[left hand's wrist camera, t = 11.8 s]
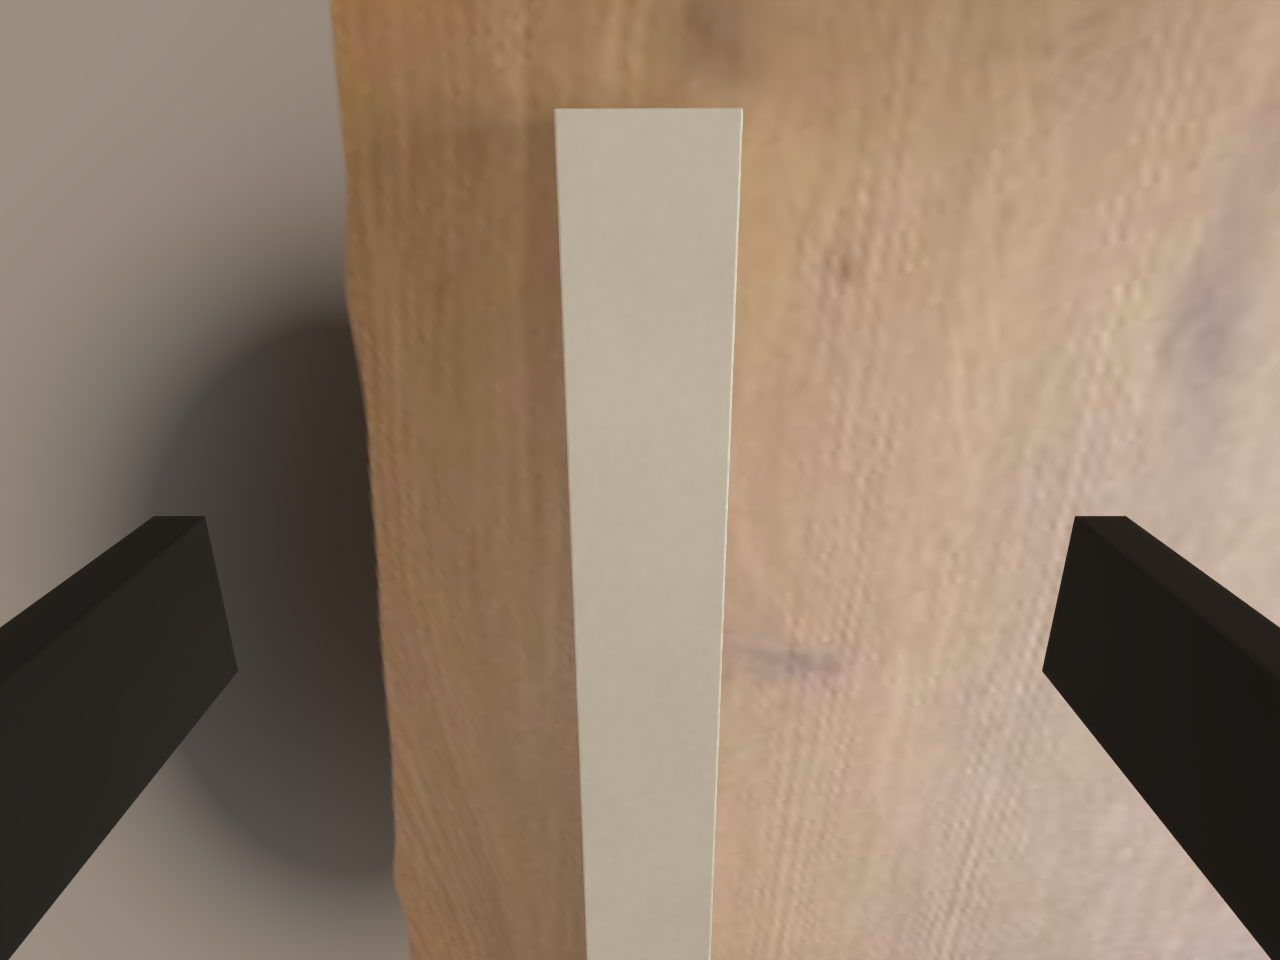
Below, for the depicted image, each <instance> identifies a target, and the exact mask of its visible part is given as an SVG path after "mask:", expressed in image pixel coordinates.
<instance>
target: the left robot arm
mask: <svg viewBox="0 0 1280 960" xmlns="http://www.w3.org/2000/svg"><path fill="white" fill-rule="evenodd" d="M237 671H238V669H237V665H236V660H235V655H234V651H233V646H232V641H231V637H230V632H229V627H228V622H227V618H226V613H225V608H224V604H223V599H222V594H221V590H220V585H219V580H218V575H217V571H216V566H215V561H214V557H213V552H212V547H211V543H210V538H209V533H208V529H207V524H206V519H205V516H154V517H152V518H151V519H150V520H148V521H147V522H145V523H144V524H143V525H141V526H140V527H139V528H137V529H136V530H134V531H133V532H132V533H130V534H129V535H128V536H126V537H125V538H123V539H122V540H121V541H119V542H118V543H117V544H115V545H114V546H112V547H111V548H110V549H108V550H107V551H105V552H104V553H103V554H101V555H100V556H99V557H97V558H96V559H94V560H93V561H92V562H90V563H89V564H87V565H86V566H85V567H83V568H82V569H81V570H79V571H78V572H77V573H75V574H74V575H72V576H71V577H69V578H68V579H67V580H65V581H64V582H63V583H61V584H60V585H58V586H57V587H56V588H54V589H53V590H52V591H50V592H49V593H47V594H46V595H45V596H43V597H42V598H40V599H39V600H38V601H36V602H35V603H34V604H32V605H31V606H29V607H28V608H27V609H25V610H24V611H23V612H21V613H20V614H18V615H17V616H16V617H14V618H13V619H11V620H10V621H9V622H7V623H6V624H5V625H3V626H2V627H0V960H9V958H10V957H11V956H12V955H13V953H14V952H15V951H16V950H17V948H18V947H19V946H20V945H21V943H22V942H23V941H24V940H25V938H26V937H27V936H28V934H29V933H30V932H31V931H32V929H33V928H34V927H35V926H36V924H37V923H38V922H39V921H40V919H41V918H42V917H43V916H44V914H45V913H46V912H47V911H48V909H49V908H50V907H51V906H52V904H53V903H54V902H55V900H56V899H57V898H58V897H59V895H60V894H61V893H62V892H63V890H64V889H65V888H66V887H67V885H68V884H69V883H70V882H71V880H72V879H73V878H74V877H75V875H76V874H77V873H78V872H79V870H80V869H81V868H82V866H83V865H84V864H85V863H86V861H87V860H88V859H89V858H90V856H91V855H92V854H93V853H94V851H95V850H96V849H97V848H98V846H99V845H100V844H101V843H102V841H103V840H104V839H105V838H106V836H107V835H108V834H109V833H110V831H111V830H112V829H113V827H114V826H115V825H116V824H117V822H118V821H119V820H120V819H121V817H122V816H123V815H124V814H125V812H126V811H127V810H128V809H129V807H130V806H131V805H132V804H133V802H134V801H135V800H136V799H137V797H138V796H139V795H140V793H141V792H142V791H143V790H144V788H145V787H146V786H147V785H148V783H149V782H150V781H151V780H152V778H153V777H154V776H155V775H156V773H157V772H158V771H159V770H160V768H161V767H162V766H163V765H164V763H165V762H166V761H167V759H168V758H169V757H170V756H171V754H172V753H173V752H174V751H175V749H176V748H177V747H178V746H179V744H180V743H181V742H182V741H183V739H184V738H185V737H186V736H187V734H188V733H189V732H190V731H191V729H192V728H193V727H194V725H195V724H196V723H197V722H198V720H199V719H200V718H201V717H202V715H203V714H204V713H205V712H206V710H207V709H208V708H209V707H210V705H211V704H212V703H213V702H214V700H215V699H216V698H217V696H218V695H219V694H220V693H221V691H222V690H223V689H224V688H225V686H226V685H227V684H228V683H229V681H230V680H231V679H232V678H233V676H234V675H235V674H236V673H237ZM1042 671H1043V673H1044V674H1045V675H1046V676H1047V678H1048V679H1049V680H1050V681H1051V683H1052V684H1053V685H1054V686H1055V688H1056V689H1057V690H1058V692H1059V693H1060V694H1061V695H1062V697H1063V698H1064V699H1065V700H1066V702H1067V703H1068V704H1069V705H1070V707H1071V708H1072V709H1073V710H1074V712H1075V713H1076V714H1077V715H1078V717H1079V718H1080V719H1081V720H1082V722H1083V723H1084V724H1085V726H1086V727H1087V728H1088V729H1089V731H1090V732H1091V733H1092V734H1093V736H1094V737H1095V738H1096V739H1097V741H1098V742H1099V743H1100V744H1101V746H1102V747H1103V748H1104V749H1105V751H1106V752H1107V753H1108V754H1109V756H1110V757H1111V758H1112V760H1113V761H1114V762H1115V763H1116V765H1117V766H1118V767H1119V768H1120V770H1121V771H1122V772H1123V773H1124V775H1125V776H1126V777H1127V778H1128V780H1129V781H1130V782H1131V783H1132V785H1133V786H1134V787H1135V788H1136V790H1137V791H1138V792H1139V793H1140V795H1141V796H1142V797H1143V799H1144V800H1145V801H1146V802H1147V804H1148V805H1149V806H1150V807H1151V809H1152V810H1153V811H1154V812H1155V814H1156V815H1157V816H1158V817H1159V819H1160V820H1161V821H1162V822H1163V824H1164V825H1165V826H1166V827H1167V829H1168V830H1169V831H1170V833H1171V834H1172V835H1173V836H1174V838H1175V839H1176V840H1177V841H1178V843H1179V844H1180V845H1181V846H1182V848H1183V849H1184V850H1185V851H1186V853H1187V854H1188V855H1189V856H1190V858H1191V859H1192V860H1193V861H1194V863H1195V864H1196V865H1197V867H1198V868H1199V869H1200V870H1201V872H1202V873H1203V874H1204V875H1205V877H1206V878H1207V879H1208V880H1209V882H1210V883H1211V884H1212V885H1213V887H1214V888H1215V889H1216V890H1217V892H1218V893H1219V894H1220V895H1221V897H1222V898H1223V899H1224V901H1225V902H1226V903H1227V904H1228V906H1229V907H1230V908H1231V909H1232V911H1233V912H1234V913H1235V914H1236V916H1237V917H1238V918H1239V919H1240V921H1241V922H1242V923H1243V924H1244V926H1245V927H1246V928H1247V929H1248V931H1249V932H1250V933H1251V935H1252V936H1253V937H1254V938H1255V940H1256V941H1257V942H1258V943H1259V945H1260V946H1261V947H1262V948H1263V950H1264V951H1265V952H1266V953H1267V955H1268V956H1269V957H1270V958H1271V960H1280V627H1278V626H1277V625H1275V624H1274V623H1273V622H1271V621H1270V620H1269V619H1267V618H1266V617H1264V616H1263V615H1262V614H1260V613H1259V612H1257V611H1256V610H1255V609H1253V608H1252V607H1251V606H1249V605H1248V604H1246V603H1245V602H1244V601H1242V600H1241V599H1240V598H1238V597H1237V596H1235V595H1234V594H1233V593H1231V592H1230V591H1228V590H1227V589H1226V588H1224V587H1223V586H1222V585H1220V584H1219V583H1217V582H1216V581H1215V580H1213V579H1212V578H1211V577H1209V576H1208V575H1206V574H1205V573H1204V572H1202V571H1201V570H1199V569H1198V568H1197V567H1195V566H1194V565H1193V564H1191V563H1190V562H1188V561H1187V560H1186V559H1184V558H1183V557H1181V556H1180V555H1179V554H1177V553H1176V552H1175V551H1173V550H1172V549H1170V548H1169V547H1168V546H1166V545H1165V544H1164V543H1162V542H1161V541H1159V540H1158V539H1157V538H1155V537H1154V536H1152V535H1151V534H1150V533H1148V532H1147V531H1146V530H1144V529H1143V528H1141V527H1140V526H1139V525H1137V524H1136V523H1135V522H1133V521H1132V520H1130V519H1129V518H1128V517H1126V516H1075V519H1074V524H1073V528H1072V533H1071V538H1070V543H1069V547H1068V552H1067V557H1066V561H1065V566H1064V571H1063V575H1062V580H1061V585H1060V590H1059V594H1058V599H1057V604H1056V608H1055V613H1054V618H1053V622H1052V627H1051V632H1050V637H1049V641H1048V646H1047V651H1046V655H1045V660H1044V665H1043V669H1042Z"/></svg>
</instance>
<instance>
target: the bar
mask: <svg viewBox="0 0 1280 960" xmlns="http://www.w3.org/2000/svg"><path fill="white" fill-rule="evenodd" d="M742 126H743V110H742V108H557V109H555V110H554V129H555V155H556V181H557V207H558V233H559V259H560V285H561V311H562V337H563V363H564V389H565V415H566V441H567V467H568V493H569V519H570V545H571V571H572V597H573V623H574V649H575V675H576V700H577V726H578V752H579V778H580V804H581V830H582V856H583V882H584V908H585V934H586V960H710V951H711V925H712V900H713V874H714V848H715V822H716V796H717V771H718V745H719V719H720V693H721V667H722V642H723V616H724V590H725V564H726V538H727V513H728V487H729V461H730V435H731V409H732V384H733V358H734V332H735V306H736V280H737V255H738V229H739V203H740V177H741V151H742Z"/></svg>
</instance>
